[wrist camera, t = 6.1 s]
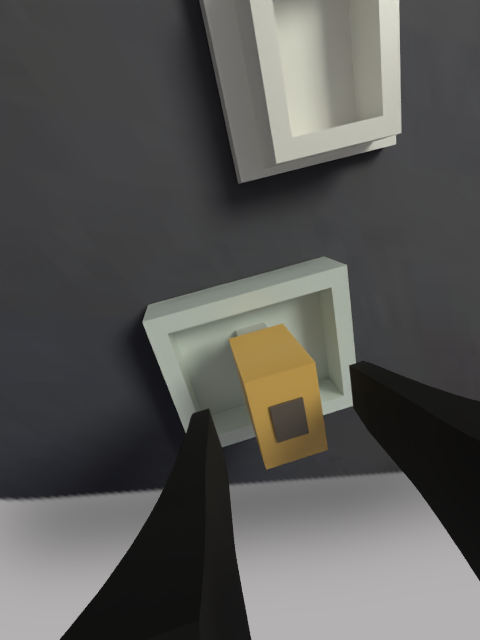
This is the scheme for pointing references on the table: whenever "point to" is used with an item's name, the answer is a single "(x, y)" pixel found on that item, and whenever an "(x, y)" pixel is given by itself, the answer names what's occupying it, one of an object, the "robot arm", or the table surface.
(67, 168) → the table surface
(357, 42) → the white open box
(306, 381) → the block
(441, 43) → the table surface
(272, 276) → the parts tray
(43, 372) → the table surface
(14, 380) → the table surface
